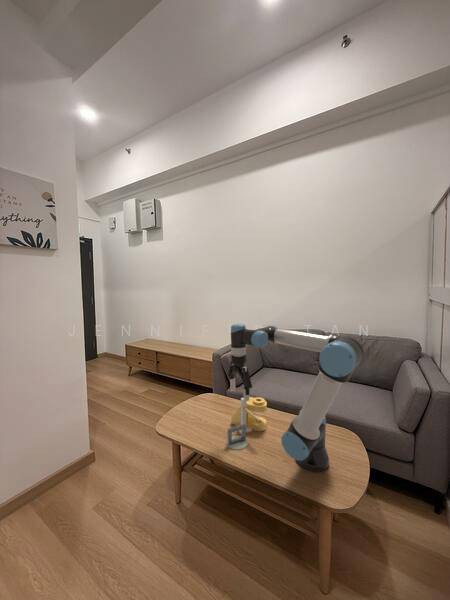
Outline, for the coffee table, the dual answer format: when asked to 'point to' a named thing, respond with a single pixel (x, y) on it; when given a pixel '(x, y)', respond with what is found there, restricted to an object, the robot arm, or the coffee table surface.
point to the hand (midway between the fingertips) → (239, 395)
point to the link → (240, 439)
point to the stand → (243, 415)
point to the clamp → (253, 406)
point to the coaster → (237, 444)
